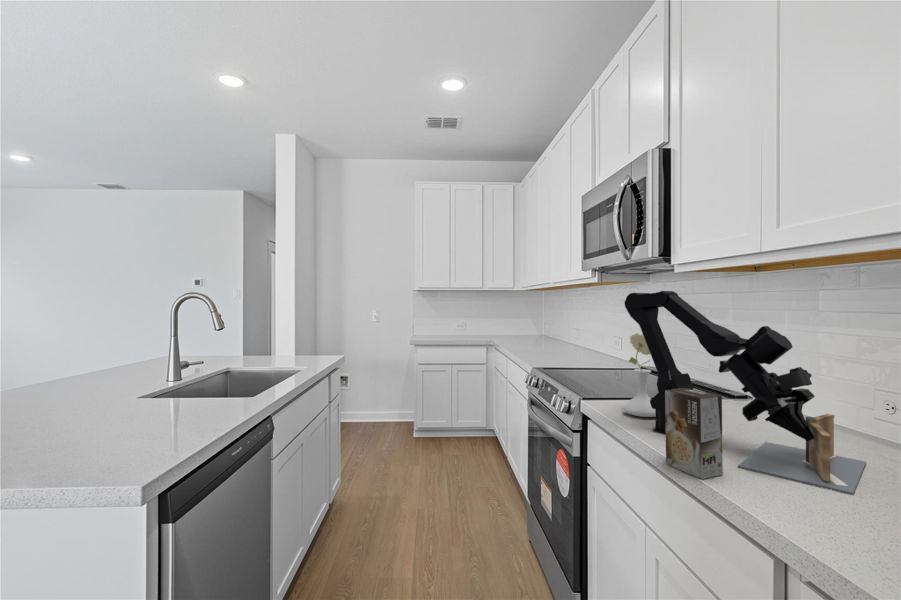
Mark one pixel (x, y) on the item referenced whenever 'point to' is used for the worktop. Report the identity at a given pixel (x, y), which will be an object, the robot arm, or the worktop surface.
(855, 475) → the mat
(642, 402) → the flower in vase
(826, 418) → the fence fixed
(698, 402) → the coffee box
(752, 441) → the worktop surface
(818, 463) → the fence panel
